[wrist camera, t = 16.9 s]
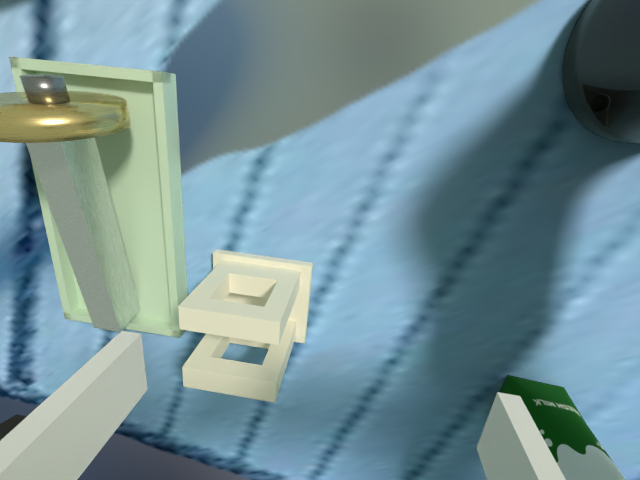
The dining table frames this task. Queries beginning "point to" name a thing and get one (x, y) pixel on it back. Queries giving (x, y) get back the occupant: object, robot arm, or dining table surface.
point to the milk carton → (564, 430)
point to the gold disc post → (76, 184)
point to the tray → (131, 190)
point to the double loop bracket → (246, 322)
